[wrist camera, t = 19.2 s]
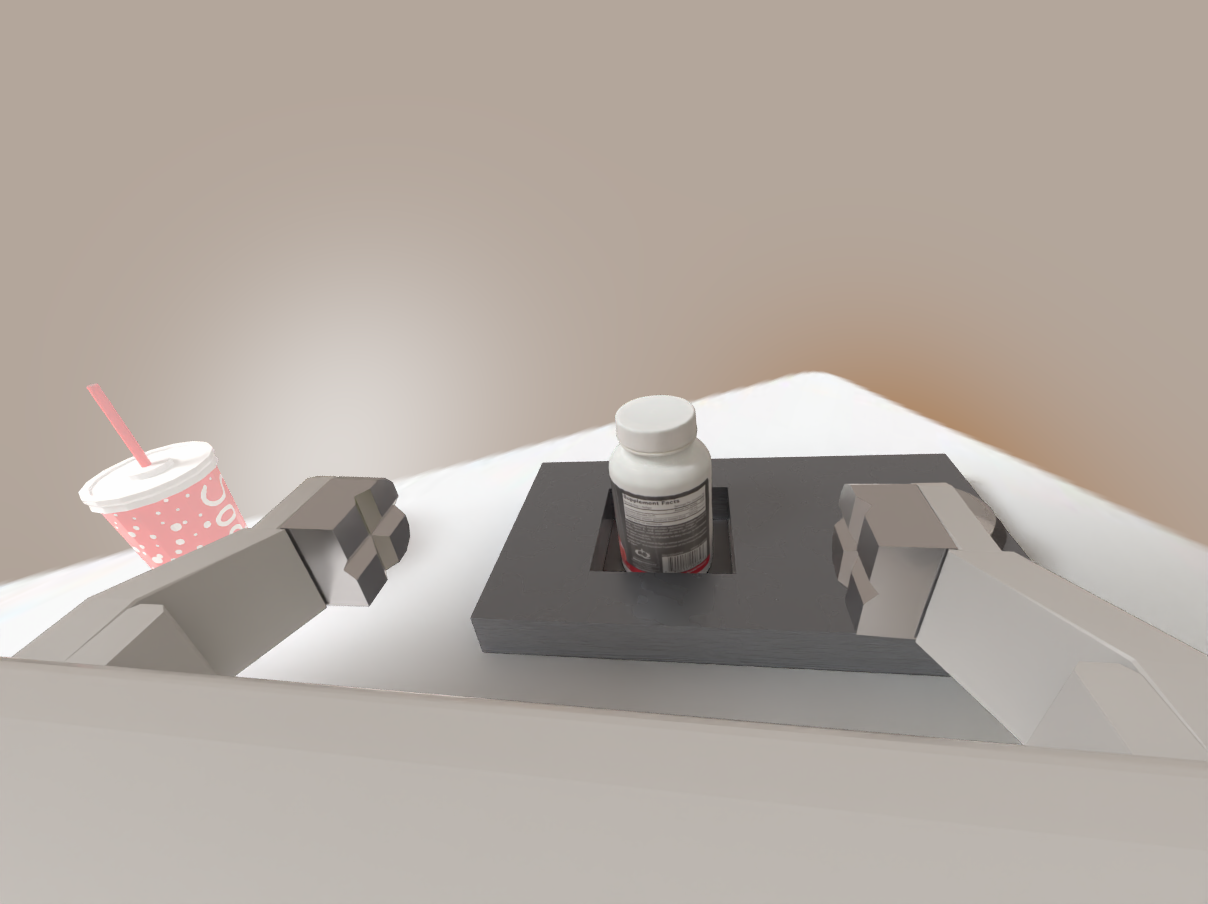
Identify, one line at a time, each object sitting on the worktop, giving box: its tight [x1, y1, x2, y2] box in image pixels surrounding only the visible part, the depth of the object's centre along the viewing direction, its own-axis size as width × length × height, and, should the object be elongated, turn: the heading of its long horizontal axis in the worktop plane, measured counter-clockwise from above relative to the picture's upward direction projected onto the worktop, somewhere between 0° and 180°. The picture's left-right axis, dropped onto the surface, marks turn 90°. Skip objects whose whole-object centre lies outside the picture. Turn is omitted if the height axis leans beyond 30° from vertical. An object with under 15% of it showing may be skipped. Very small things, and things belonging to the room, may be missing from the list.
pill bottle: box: [609, 395, 713, 573], centre depth 28 cm, size 5×5×10 cm
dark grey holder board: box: [471, 454, 1031, 676], centre depth 28 cm, size 26×14×4 cm, turn 81°
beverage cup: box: [78, 383, 248, 569], centre depth 29 cm, size 6×6×14 cm
